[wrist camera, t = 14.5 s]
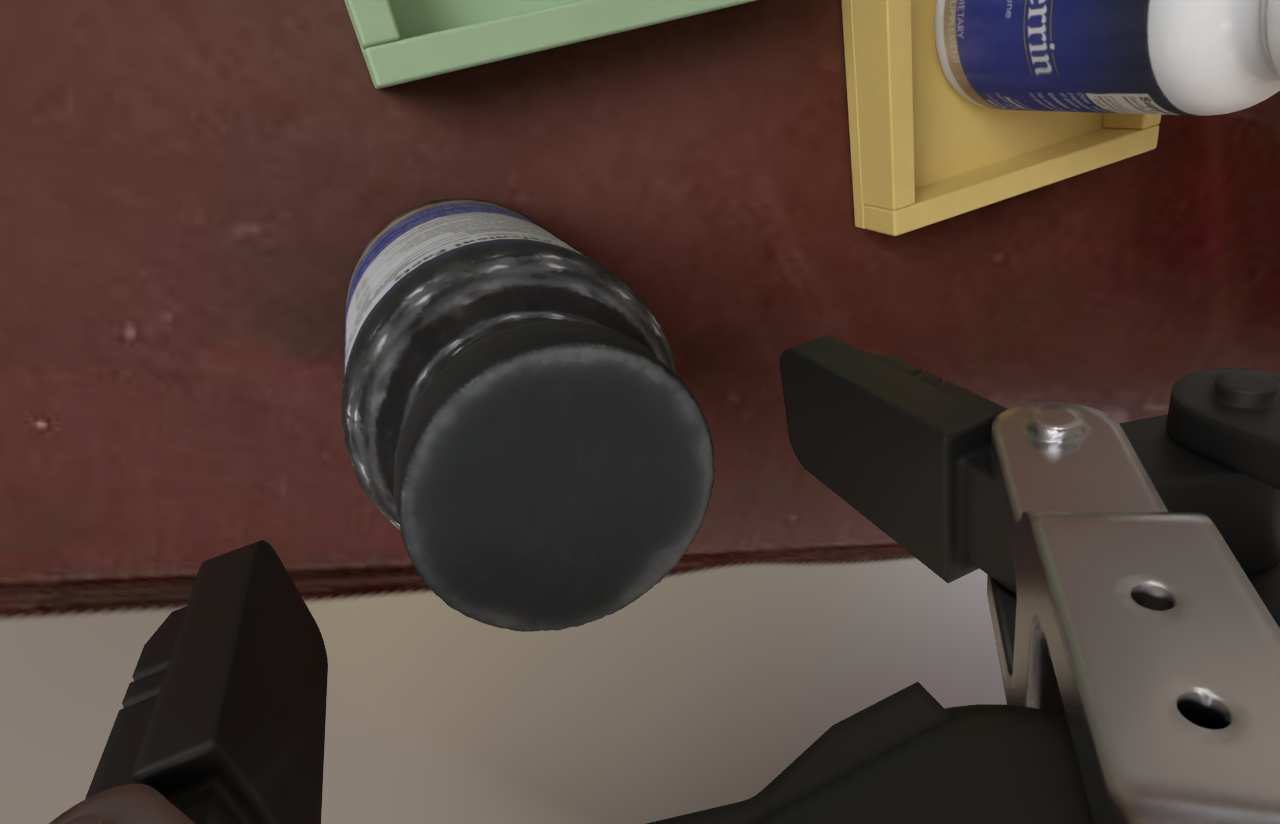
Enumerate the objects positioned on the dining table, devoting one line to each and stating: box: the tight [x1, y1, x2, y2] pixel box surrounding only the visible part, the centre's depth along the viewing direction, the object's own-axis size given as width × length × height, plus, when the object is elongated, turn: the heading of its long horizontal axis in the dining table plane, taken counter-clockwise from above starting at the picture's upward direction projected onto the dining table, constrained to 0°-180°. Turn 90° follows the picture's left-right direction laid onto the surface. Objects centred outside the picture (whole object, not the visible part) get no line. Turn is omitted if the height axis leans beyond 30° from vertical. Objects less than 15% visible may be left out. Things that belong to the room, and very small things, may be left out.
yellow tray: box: [841, 0, 1161, 236], centre depth 21 cm, size 11×11×2 cm
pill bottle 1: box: [342, 199, 715, 631], centre depth 15 cm, size 6×6×11 cm
